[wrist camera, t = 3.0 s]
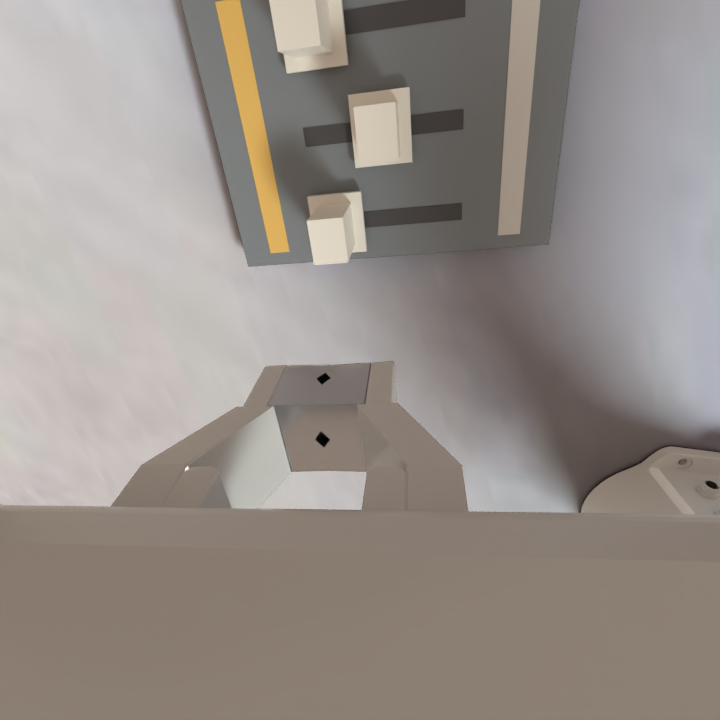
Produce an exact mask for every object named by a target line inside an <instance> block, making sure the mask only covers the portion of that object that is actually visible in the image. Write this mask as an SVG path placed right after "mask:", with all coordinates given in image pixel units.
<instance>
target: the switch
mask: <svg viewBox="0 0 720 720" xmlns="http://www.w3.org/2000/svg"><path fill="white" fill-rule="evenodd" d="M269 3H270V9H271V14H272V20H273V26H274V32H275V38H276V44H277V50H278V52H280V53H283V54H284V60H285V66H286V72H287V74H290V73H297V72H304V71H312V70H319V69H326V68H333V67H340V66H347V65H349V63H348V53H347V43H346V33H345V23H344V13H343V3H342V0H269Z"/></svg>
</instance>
